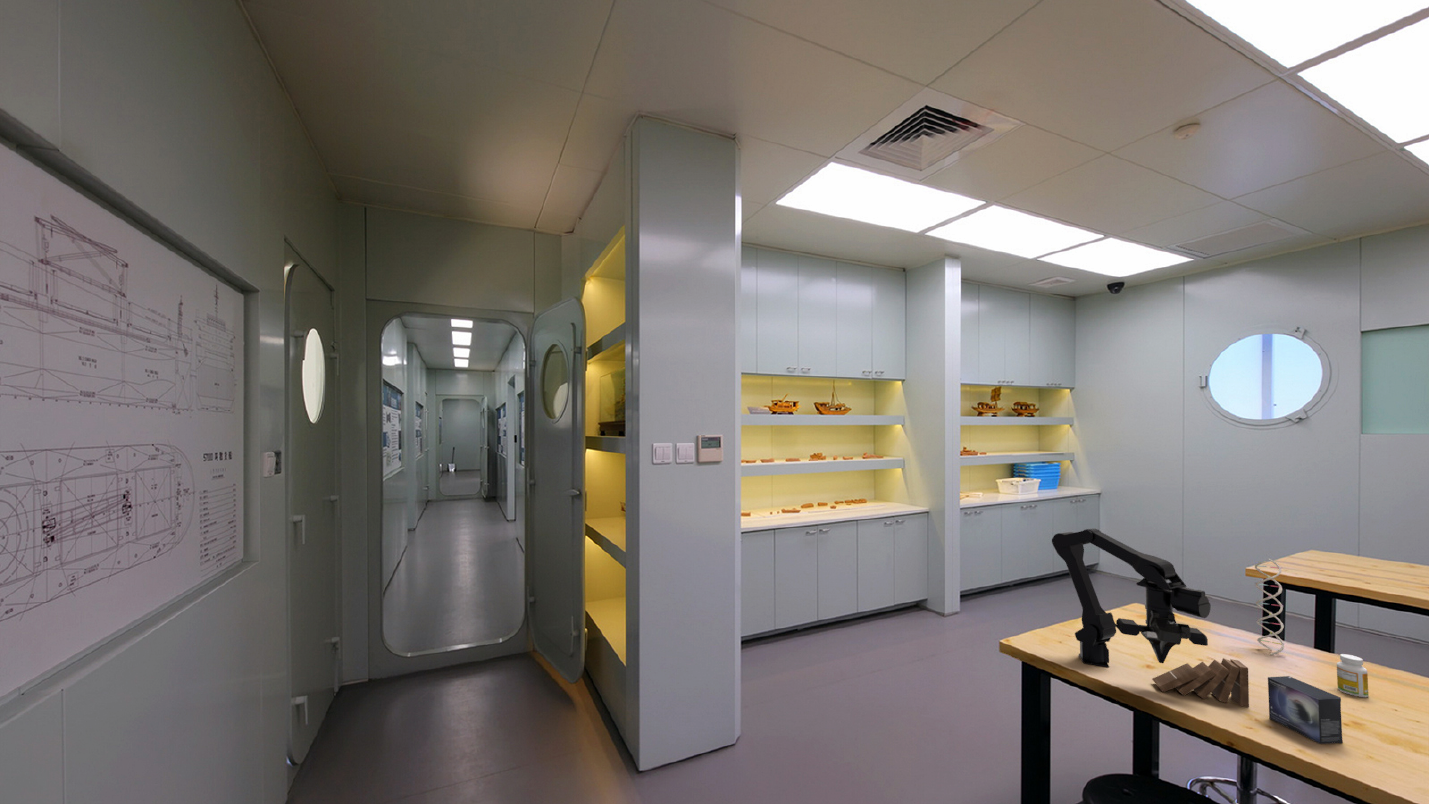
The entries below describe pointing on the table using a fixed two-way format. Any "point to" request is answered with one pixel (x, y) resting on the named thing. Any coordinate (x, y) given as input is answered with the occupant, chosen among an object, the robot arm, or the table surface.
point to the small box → (1305, 709)
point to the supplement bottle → (1352, 676)
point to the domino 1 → (1175, 677)
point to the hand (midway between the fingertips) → (1160, 662)
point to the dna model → (1271, 604)
